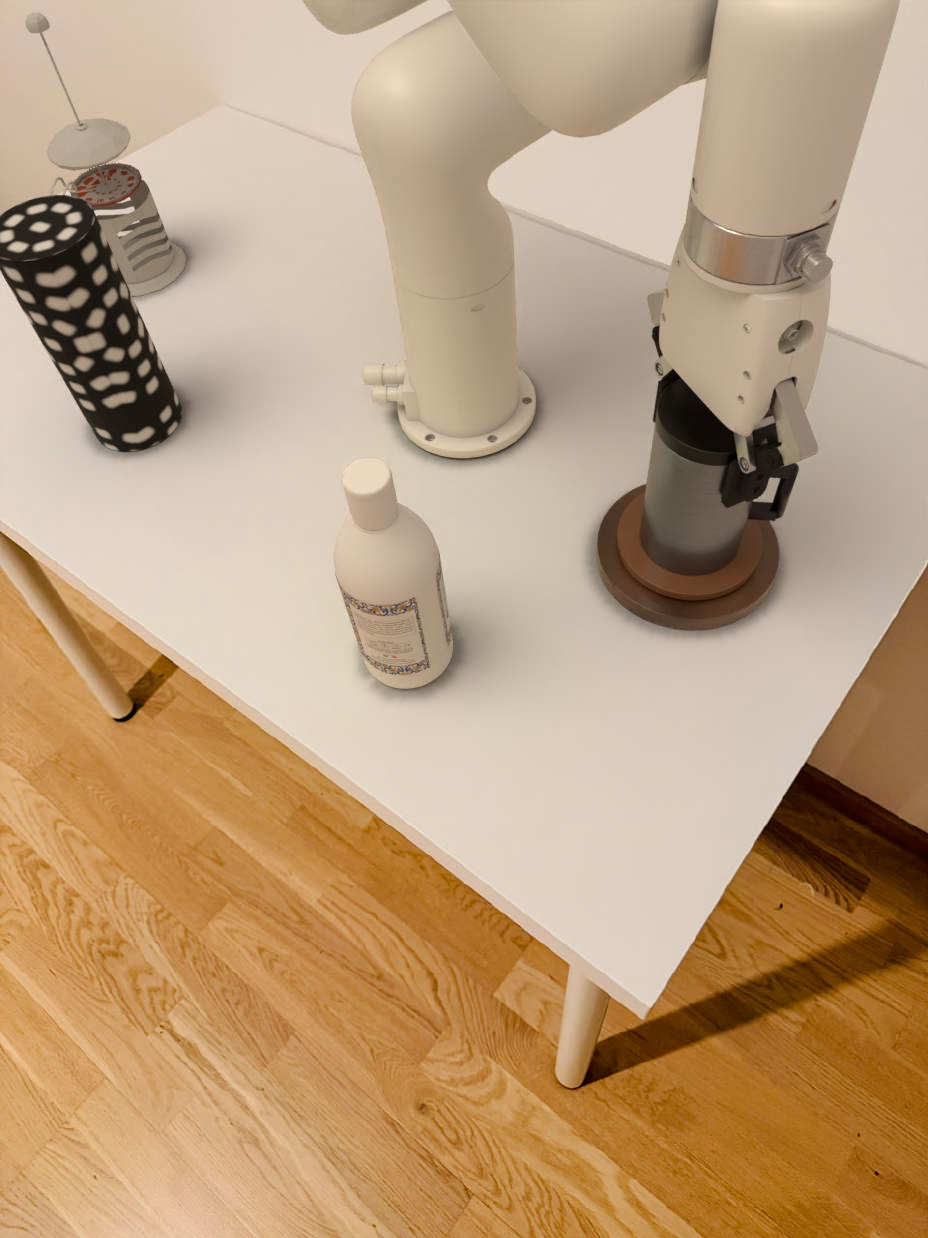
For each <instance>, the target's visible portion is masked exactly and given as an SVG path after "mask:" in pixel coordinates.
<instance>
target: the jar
mask: <svg viewBox="0 0 928 1238" xmlns="http://www.w3.org/2000/svg"><path fill="white" fill-rule="evenodd" d="M752 435H753V442H754V448H755V447H757V446H760V445H762V444H764V443H767V439H766V432H765V427H763V428H761V429H758V430H756V431H754V432H752ZM735 459H738V457H737V451H736V445H735V439H734V433H733V431H732V430H730V429H729V428H728V427H726V426H725V425H724V424H723V423H722V422H721V421H720V420H719V419H718V418H717V416H716V415H715V414H714V413H713V412H712V411H711V410H710V409H709V408H708V407H707V406H706V405H705V404H704V402H703V401H702V400H701V399H700V398H699V397H698V396H697V395H696V394H695V393H694V391H693V390H692V389H691V388H690V387H689V386H688V385H687V384H686V383H685V381H684V380H683V379H682V378H679V379H677V380H675V381H674V382H673V383H671V384H670V385H669V386H668V387H667V388H666V389H665V390H664V392H663V393H662V395H661V397H660V399H659V402H658V407H657V414H656V421H655V423H654V428H653V436H652V442H651V449H650V456H649V462H648V470H647V478H646V483H645V484H646V490H645V493H643V494H641V495H640V496H638V497H637V498H636V499H634V500H633V501H632V502H631V503H630V504H629V505H628V507H627V508H626V509H625V511H624V512H623V514H622V516H621V518H620V521H619V524H618V530H617V548H618V552H619V555H620V558H621V560H622V562H623V564H624V566H625V567H626V569H627V570H628V571H629V573H630V574H631V575H632V576H633V577H634V578H635V579H636V580H637V581H639V582H640V583H641V584H642V585H644V586H646V587H647V588H649V589H651V590H653V591H655V592H657V593H659V594H662V595H665V596H667V597H671V598H676V599H682V600H707V599H712V598H717V597H720V596H723V595H726V594H728V593H730V592H732V591H734V590H735V589H737V588H739V587H740V586H741V585H743V584H744V583H745V582H746V581H747V580H748V579H749V578H750V577H751V575H752V574H753V572H754V571H755V569H756V567H757V565H758V562H759V560H760V557H761V552H762V543H763V541H762V534H761V530H760V527H759V525H758V523H757V521H756V520H765V521H770V522H776V521H777V520H779V519H781V518H782V517H783V516H784V514H785V512H786V508H787V506H788V503H789V499H790V497H791V495H792V492H793V488H794V485H795V484H796V483H795V482H796V479H797V478H798V477H797V476H798V474H799V471H800V467H799V464H797V462H796V463H793V464H790V465H787V466H783V467H780V468H778V469H775V470H772V472H771V475H770V478H769V479H779V481H778V484H777V487H776V490H775V493H774V496H773V499H772V502H769V501H756V500H755V501H754V500H752V501H750V502H746V501H743V502H741V503H738V504H736V505H734V506H732V507H729V508H726V507H725V506H724V505H723V504H722V502H721V496H722V492H723V488H724V484H725V480H726V476H727V472H728V468H729V464H730V463H731V462H732V461H733V460H735Z"/></svg>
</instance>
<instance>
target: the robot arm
mask: <svg viewBox="0 0 928 1238" xmlns="http://www.w3.org/2000/svg"><path fill="white" fill-rule="evenodd" d="M301 1H302V2H303V4H304V5H305V7H306V8H307V10H308V11H309V12H310V13H311V15H312V16H313V17H314V19H315V20H316V21H317V22H318V23H319V24H321V25H322V27H324V28H325V29H326V30H329V31H330V32H332V33H334V34H338V35H340V36H341V35H343V36H348V35H349V36H350V35H355V34H360V33H363V32H365V31H368V30H371V29H374V28H377V27H378V26H381V25H383V24H385V23H388V22H389V21H392V20H394V19H395V18H398V17H399V16H401V15H403V14H405V13H408V12H409V11H411V10H413V9H415V8H416V7H418V6H420V5H422V4H425V3H426V2H428V1H429V0H301ZM446 1H447V3H448V4H449V6H450V8H451V10H448V11H447V12H444V13H442V14H441V15H439V16H436V17H435V18H433V19H432V20H429V21H428V22H425V23H424V24H422V25H420V26H418V27H416V28H415V29H413V30H411V31H409V32H408V33H406V34H404V35H402V36H400V37H399V38H397V39H396V40H394V41H393V42H391V43H389V44H388V45H387V46H385V47H384V48H383V49H381V50H380V51H379V52H378V53H377V54H376V55H375V56H374V57H373V58H372V59H371V60H370V61H369V62H368V64H367V65H366V66H365V67H364V69H363V70H362V72H361V73H360V75H359V77H358V79H357V81H356V82H355V85H354V88H353V92H352V97H351V106H350V111H351V112H350V113H351V122H352V128H353V132H354V136H355V139H356V142H357V144H358V148H359V151H360V154H361V156H362V159H363V161H364V165H365V167H366V169H367V172H368V175H369V177H370V181H371V184H372V186H373V189H374V192H375V196H376V199H377V203H378V207H379V210H380V215H381V219H382V223H383V227H384V232H385V237H386V244H387V249H388V254H389V261H390V266H391V272H392V278H393V283H394V290H395V296H396V303H397V310H398V315H399V321H400V327H401V333H402V339H403V347H404V352H405V358H406V360H399V361H398V362H397V364H385V363H364V364H363V366H362V382H363V384H364V386H373V387H372V391H371V394H372V395H371V396H372V402H373V403H389V402H397V403H396V404H397V405H396V406H397V407H396V408H397V409H396V410H397V416H398V421H399V424H400V428H401V429H402V431H403V432H404V434H405V435H406V437H407V438H408V439H409V440H410V441H411V442H412V443H414V445H416V446H417V447H419V448H421V449H423V450H424V451H425V452H429V453H431V454H434V455H436V456H441V457H445V458H451V459H470V458H471V459H472V458H480V457H484V456H488V455H492V454H495V453H497V452H500V451H501V450H502V451H503V449H506V448H508V447H509V446H511V445H512V444H513V443H516V442H517V441H518V440H519V439H520V438H521V437H522V436H523V435H525V433H526V432H527V431H528V429H529V428H530V427H531V425H532V423H533V420H534V418H535V416H536V408H537V394H536V391H535V387H534V384H533V383H532V381H531V379H530V377H529V375H527V374H526V373H525V372H524V370H523V369H522V368H520V367H519V366H518V337H517V336H518V334H517V333H518V332H517V331H518V330H517V298H516V297H517V295H516V267H515V266H516V265H515V264H516V263H515V240H514V231H513V227H512V222H511V218H510V216H509V214H508V212H507V210H506V208H505V207H504V205H502V204H501V202H500V201H499V200H498V199H497V198H496V197H495V196H493V194H492V193H491V191H490V189H489V186H488V185H489V179H490V177H491V175H492V173H493V172H494V171H495V170H497V168H499V167H500V166H501V165H503V164H504V163H506V162H507V161H510V159H512V158H513V157H514V156H515V155H517V154H519V153H520V152H521V151H523V150H525V149H526V148H528V147H530V146H531V145H533V144H534V143H536V142H537V141H539V140H540V139H541V138H544V136H546V135H548V134H550V133H551V132H552V131H553V132H556V133H558V134H560V135H563V136H567V137H570V138H571V137H572V138H588V137H595V136H600V135H603V134H605V133H608V132H611V131H613V130H614V129H616V128H618V127H619V126H621V125H623V124H625V123H626V122H628V121H630V120H631V119H632V118H634V117H636V116H637V115H640V113H642V112H643V111H644V110H646V109H649V107H651V106H652V105H654V104H655V103H657V102H658V101H660V100H661V99H663V98H664V97H666V96H668V95H669V94H671V93H672V92H674V91H675V90H677V89H678V88H679V87H682V86H685V85H688V84H692V83H695V82H696V83H697V82H699V81H702V80H705V85H704V86H705V87H704V93H703V100H702V108H701V113H700V120H699V127H698V135H697V140H696V147H695V154H694V161H693V168H692V176H691V182H690V189H689V195H688V201H687V209H686V215H685V222H684V224H683V227H682V230H681V231H680V235H679V237H678V241H677V243H676V247H675V249H674V252H673V256H672V259H671V264H670V266H669V271H668V276H667V280H666V284H665V288H662V289H659V290H657V291H654V292H652V293H649V294H648V295H647V305H648V309H649V314H650V318H651V323H652V324H653V325H654V327H653V328H652V330H651V338H652V340H653V342H654V345H655V349H656V352H657V355H658V358H657V359H656V360H655V362H654V370H655V373H656V375H657V376H658V378H660V380H658V381H657V387H656V394H655V402H654V409H653V418H652V422H653V423H654V424H655V421H656V414H657V407H658V402H659V399H660V397H661V395H662V393H663V392H664V390H665V389H666V388H667V387H668V386H669V385H670V384H671V383H673V382H674V381H675V380H677V379H679V378H682V379H683V380H684V381H685V383H686V384H687V385H688V386H689V387H690V388H691V389H692V390H693V391H694V393H695V394H696V395H697V396H698V397H699V398H700V399H701V400H702V401H703V402H704V404H705V405H706V406H707V407H708V408H709V409H710V410H711V411H712V412H713V413H714V414H715V415H716V416H717V418H718V419H719V420H720V421H721V422H722V423H723V424H724V425H725V426H726V427H728V428H729V429H730V430H732V431H733V433H734V439H735V445H736V451H737V457H738V459H735V460H733V461H732V462H731V463H730V464H729V468H728V472H727V476H726V480H725V484H724V488H723V492H722V496H721V502H722V504H723V505H724V506H725V507H726V508H729V507H732V506H734V505H736V504H738V503H741V502H743V501H746V502H750V501H752V500H753V501H754V500H755V501H756V500H757V499H759V498H760V497H761V496H762V495H763V494H764V493H765V492H766V490H767V487H768V484H769V481H770V479H771V478H770V475H771V472H772V470H775V469H778V468H780V467H783V466H787V465H790V464H793V463H796V464H797V463H800V462H801V461H804V460H806V459H808V458H811V457H813V456H816V455H817V454H818V452H819V446H818V442H817V441H816V437H815V435H814V432H813V430H812V427H811V424H810V422H809V420H808V416H807V414H806V412H805V411H806V409H807V407H808V404H809V403H810V399H811V395H812V393H813V389H814V386H815V383H816V379H817V375H818V370H819V366H820V364H821V358H822V353H823V351H824V350H823V349H824V344H825V339H826V333H827V327H828V322H829V316H830V315H829V313H830V304H831V294H832V293H831V291H832V290H831V287H832V273H831V271H832V269H833V266H834V261H833V259H832V258H831V257H829V256H828V255H827V251H828V248H829V244H830V241H831V238H832V235H833V232H834V228H835V224H836V221H837V218H838V214H839V211H840V208H841V204H842V202H843V198H844V196H845V195H844V194H845V191H846V188H847V185H848V181H849V178H850V175H851V171H852V167H853V164H854V162H855V159H856V155H857V152H858V148H859V145H860V141H861V139H862V134H863V131H864V128H865V126H866V125H865V124H866V121H867V117H868V114H869V112H870V111H869V110H870V107H871V104H872V101H873V97H874V94H875V90H876V87H877V84H878V81H879V77H880V74H881V71H882V67H883V63H884V61H885V58H886V54H887V50H888V47H889V45H890V39H891V37H892V33H893V31H894V26H895V23H896V21H897V15H898V13H899V12H898V11H899V8H900V3H901V2H900V1H901V0H446ZM385 385H397V387H395V386H393V387H392V386H385ZM763 427H765V432H766V439H767V443H764V444H762V445H760V446H757V447H755V448H754V442H753V435H752V432H754V431H756V430H758V429H761V428H763Z"/></svg>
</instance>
